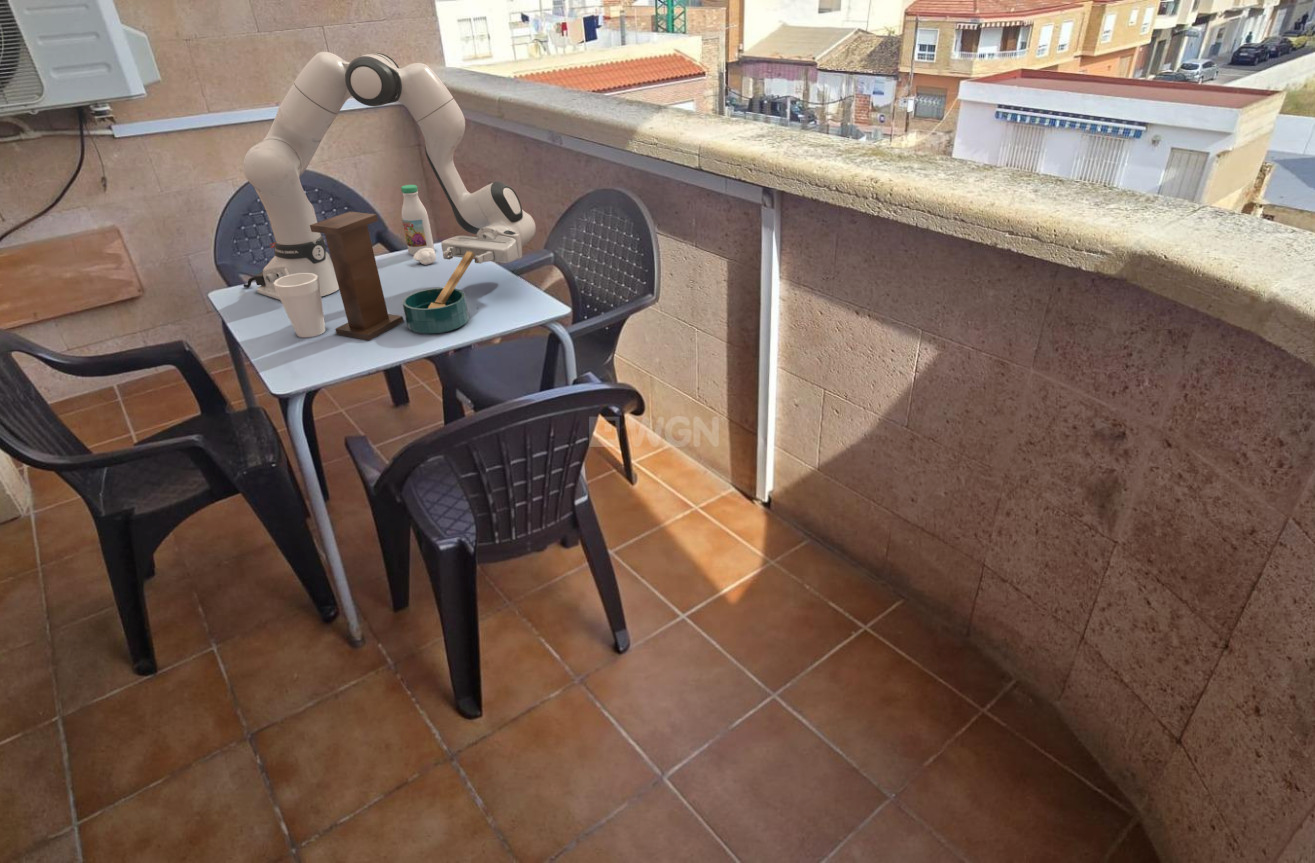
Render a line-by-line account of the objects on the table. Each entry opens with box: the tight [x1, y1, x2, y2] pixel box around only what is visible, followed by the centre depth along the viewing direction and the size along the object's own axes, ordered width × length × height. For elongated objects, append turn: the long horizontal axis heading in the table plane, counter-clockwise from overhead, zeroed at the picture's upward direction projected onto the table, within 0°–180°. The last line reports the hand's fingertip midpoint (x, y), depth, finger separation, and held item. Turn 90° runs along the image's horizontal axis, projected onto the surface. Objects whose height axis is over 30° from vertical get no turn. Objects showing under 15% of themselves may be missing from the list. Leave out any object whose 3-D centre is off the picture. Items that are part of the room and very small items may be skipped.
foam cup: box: [273, 273, 326, 338], centre depth 171 cm, size 10×9×13 cm
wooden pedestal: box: [310, 211, 405, 341], centre depth 169 cm, size 10×12×26 cm
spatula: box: [428, 251, 475, 308], centre depth 177 cm, size 24×4×1 cm, turn 156°
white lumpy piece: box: [412, 248, 437, 266], centre depth 217 cm, size 7×5×4 cm
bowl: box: [401, 287, 470, 335], centre depth 175 cm, size 14×14×6 cm
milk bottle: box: [400, 184, 435, 256], centre depth 221 cm, size 8×8×20 cm
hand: (460, 258), depth 180 cm, fingers open, 8 cm apart
